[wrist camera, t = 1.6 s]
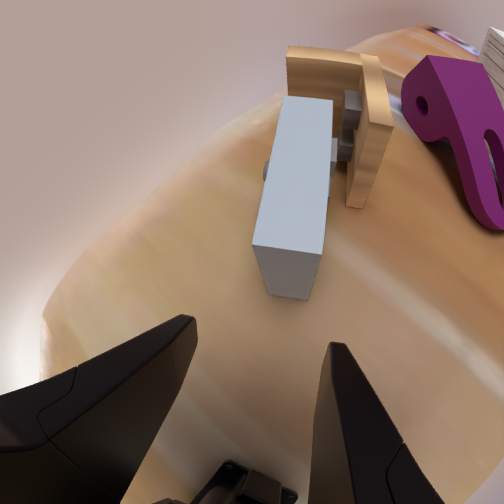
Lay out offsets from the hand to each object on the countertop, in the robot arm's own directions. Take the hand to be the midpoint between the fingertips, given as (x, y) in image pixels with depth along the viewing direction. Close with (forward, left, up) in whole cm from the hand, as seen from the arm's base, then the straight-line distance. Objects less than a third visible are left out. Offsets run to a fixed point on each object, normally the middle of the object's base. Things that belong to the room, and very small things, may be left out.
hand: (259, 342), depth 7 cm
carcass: (+16, +4, -14) cm, 22 cm away
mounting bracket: (+26, -10, -14) cm, 31 cm away
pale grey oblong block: (+8, +3, -14) cm, 16 cm away
